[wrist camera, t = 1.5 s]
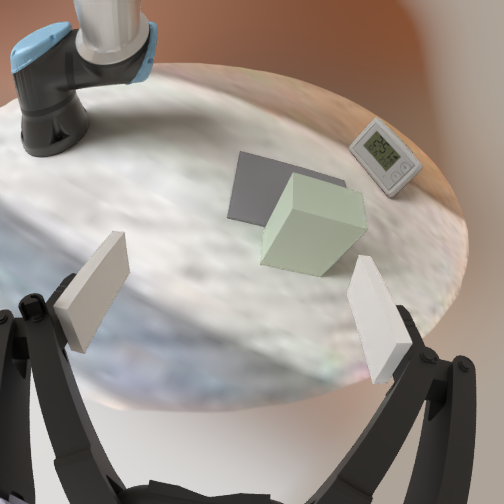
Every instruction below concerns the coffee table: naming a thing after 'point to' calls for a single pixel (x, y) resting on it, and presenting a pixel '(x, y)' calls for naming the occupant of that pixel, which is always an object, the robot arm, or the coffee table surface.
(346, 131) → the coffee table surface
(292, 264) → the sage block
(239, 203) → the felt pad
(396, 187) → the digital clock
